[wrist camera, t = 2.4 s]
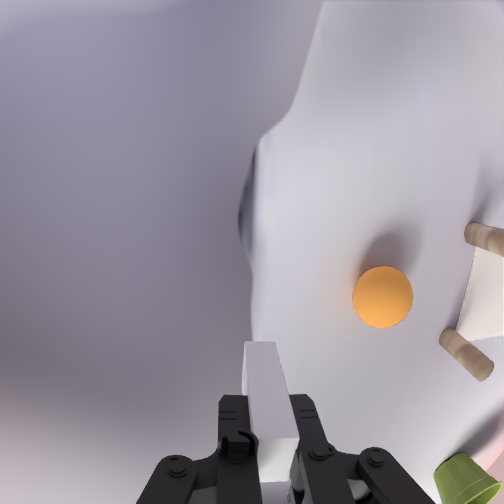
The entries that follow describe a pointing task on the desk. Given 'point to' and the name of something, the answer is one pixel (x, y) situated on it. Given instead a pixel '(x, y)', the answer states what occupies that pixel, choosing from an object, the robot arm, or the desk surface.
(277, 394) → the robot arm
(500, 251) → the post
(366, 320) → the ball
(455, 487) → the plant pot
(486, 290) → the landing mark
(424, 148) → the desk surface
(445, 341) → the post
